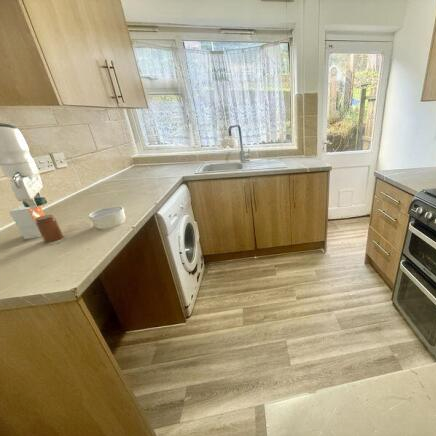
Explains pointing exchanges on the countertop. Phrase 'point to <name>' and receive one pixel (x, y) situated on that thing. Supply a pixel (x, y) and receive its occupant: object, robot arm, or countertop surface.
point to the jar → (49, 228)
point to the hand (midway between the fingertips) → (37, 205)
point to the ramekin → (108, 217)
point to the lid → (37, 201)
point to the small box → (27, 220)
